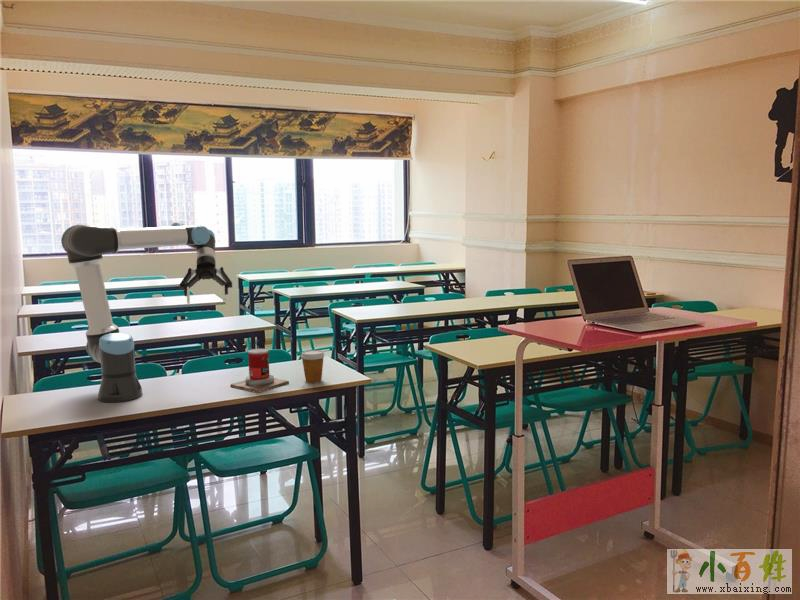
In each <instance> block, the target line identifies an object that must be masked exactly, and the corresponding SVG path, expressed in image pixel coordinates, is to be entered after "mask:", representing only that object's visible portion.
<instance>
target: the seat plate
mask: <svg viewBox="0 0 800 600" xmlns="http://www.w3.org/2000/svg"><path fill="white" fill-rule="evenodd" d="M287 383H290V381H289V380H286V379H282V378H280V379H279V378H276V377H275V378H274V375H272V374H269V378H267V379H263V380H253V379H250V377H249V375H248V376H247V377H245V380H241V381H237V382H235V383H231V384H230V387H231V388H235V389H239V390H243V389H245V390H244V391H248V390H250V391H249V392H252V391H255V392H254V393H257V392H259V393H261V392H260V391H262V392H264V391H263V390H266V391H268V390H267V389H269V390H271V389H270V388H272V389H275V388H274V387H276V388H278V387H277V386H279V387H281V386H280V385H282V386H284V385H283V384H285V385H288V384H287Z"/></svg>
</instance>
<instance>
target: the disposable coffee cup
mask: <svg viewBox="0 0 800 600" xmlns="http://www.w3.org/2000/svg"><path fill="white" fill-rule="evenodd" d="M300 357H301V360H302V366H303V367H302V368H303V372H304V378H305V382H306V383H309V384H317V383H321V382H322V377H323V367H324V358H325V352H324V351H323V350H321V349H320V350H319V349H308V350H304V351H302V352H301V355H300ZM320 381H321V382H320Z"/></svg>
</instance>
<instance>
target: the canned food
mask: <svg viewBox="0 0 800 600" xmlns="http://www.w3.org/2000/svg"><path fill="white" fill-rule="evenodd" d="M247 354H248V355H247V356H248V359H247V360H248V376H249V377H250V379H253V380H263V379H267V378H269V375H270V357H269V356H270V355H269V349H267V348H252V349H249V350H247Z"/></svg>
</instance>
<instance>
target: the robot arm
mask: <svg viewBox="0 0 800 600" xmlns="http://www.w3.org/2000/svg"><path fill="white" fill-rule="evenodd" d="M215 236H216V235H215V232H213V231H212V230H211V229H208V228H207V227H206V225H205V226H204V225H201V224H200V225H199V224H198V225H186V224H184V223H181V222H178V221H175V222H173V223H172V224H171V226H161V227H160V226H158V227H157V226H156V227H140V228H138V227H137V228H116V227H115V226H98V225H93V224H92V225H90V224H76V225H72V226H70V227H68V228H67V229H65V231H63V233H62V235H61V242H60V243H61V247H62V248H63V250H64V251H65V252H66V255H67V256H66V257H67V260H68V263H69V265H71V266H73V267H74V270H75V274H76V278H77V284H78V287H79V293H80V294H81V295H80V296H81V301H82V305H83V308H84V313H85V316H86V322H87V326H88V329H86V332H85V337H86V340H87V341H86V346H85V347H86V352H87V354H88V356H89V357H90V358H91V359H92V360H93V361H94V362H97V364H98V363H99V364H100V369H101V371H100V372H101V381H100V384H99V389H98V393H97V396H98V397H97V398H98V401H99V402H103V403H119V402H127V401H131V400H134V399H138V398H140V397H141V396H143V387H142V386H141V383H140V381H139V378H138V377H137V374H136V373H137V371H136V369H137V368H136V360H135V359H136V357H135V356H136V355H135V342H134V338H133V337H132V335H130V334H128V333H121V332H120V329H119V326H118V325H116V324H115V323H114V322H113V317H112V313H111V308H110V304H109V299H108V295H107V291H106V287H105V281H104V277H103V272H102V269H101V261H102V260H103V259H104V257H103V255H108V254H115V253H116V254H117V253H119V251H120V250H134V249H135V250H136V249H148V248H149V249H150V248H166V247H177V246H188V247H190V248H192V249H195V250H196V269H193V268H191V267H190V268H188V270H187V273H186V274H185V276H184V277H183V279H182V280H181V282H180V283H179V289H180V290H181V291H182V290H183V291H184V292H183V294H184V297H186V303H187V305H190V303H191V302H190V301H191V298H190V297H191V295H190V293H191V290H190V289H191V288H192V287H193V286H194V285H195V284H197V282H200V281H201V280H204V281H205V280H211V279H212V280H213V281H215V282H216V283H218V284H219V285H220V286H221V287H222V302H223V303H226V295H228V294H229V288H231V289H232V288H233V281H232V280H231V279H230V277H229V276H228V275H227V273H226V272H225V270H224V267H222V266H221V267H220V268H216V266H217V265H216V237H215ZM217 273H218V274H219V275H221V277H222V278H221V277H220V276H219V275H217ZM194 274H195V275H194ZM193 275H194V276H193ZM192 276H193V277H192Z"/></svg>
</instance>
